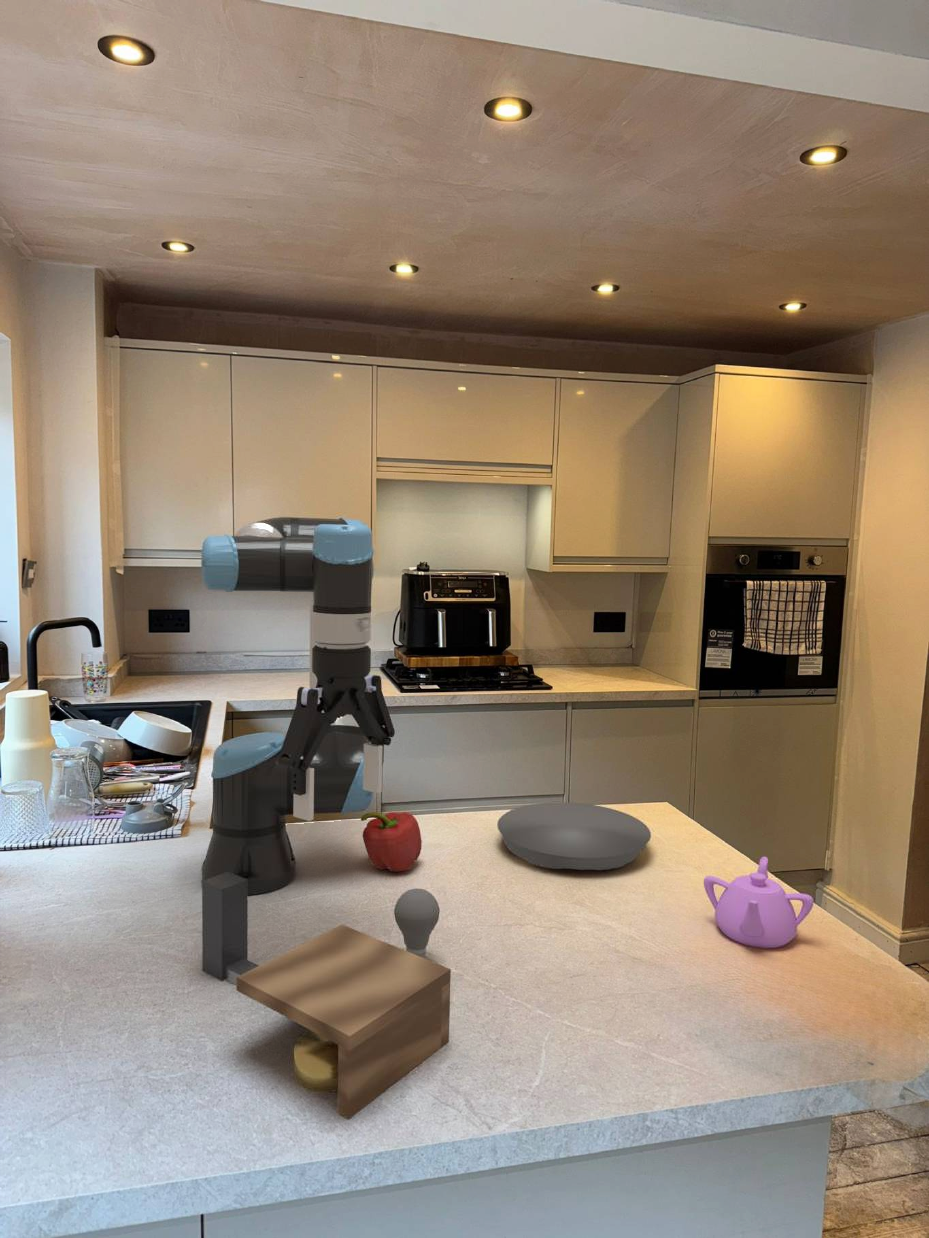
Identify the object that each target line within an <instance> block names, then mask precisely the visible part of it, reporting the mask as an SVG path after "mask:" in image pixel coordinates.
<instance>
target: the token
mask: <svg viewBox="0 0 929 1238" xmlns="http://www.w3.org/2000/svg"><path fill="white" fill-rule="evenodd" d="M293 1077H294V1080H295V1081H296V1082H297V1084H298V1085H299V1086H300V1087H301V1088H304V1089H305V1090H309V1091H311V1092H317V1093H329V1092H331V1093H332V1092H335V1091H338V1044H336V1043H334V1042H332V1041H330V1040H328V1039H326V1038H324V1037H323V1036H321V1035H319V1034H317V1033H315V1032H313V1031H311V1030H309V1029H308V1030H307V1031H306V1032H304V1033H303V1034H301V1035H300V1036H299V1037H298V1038H297V1039H296V1041H295V1043H294V1046H293Z"/></svg>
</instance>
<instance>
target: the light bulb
mask: <svg viewBox="0 0 929 1238" xmlns="http://www.w3.org/2000/svg"><path fill="white" fill-rule="evenodd" d="M393 912H394V913H393V914H394V920H395V923H396V925H397V926H398V928H399V931H401V933H402V936H403V942H404V945H405V947H406V949H405V951H408V952H410V953H412V954H415V955H417V956H420V957H422V958H425V959H427V954H426V953H427V946H428V944H429V941H430V935H431V934H432V931H434V929H435V927H436V925H437V924H438V921H439V918H440V905H439V902H438V900H437V899H436V897H435V896H434V895H433V894H432V893H431V892H430V891H428V890H427V889H423V888H412V889H408V890H407V891H405V892H404V893H402V894H401V895H400V896H399V898H398V899H397V901H396V903H395V904H394V909H393Z"/></svg>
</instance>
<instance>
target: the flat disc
mask: <svg viewBox="0 0 929 1238" xmlns="http://www.w3.org/2000/svg"><path fill="white" fill-rule="evenodd" d="M496 826H497V829H498V831H499V832H500V834H501V835H502V839H503V842H504V844H505V846H506V847H507V849H508V850H509V851H510V852H511V853H512V854H514V855H515V856H517V857H518V858H520V859H523V860H525V861H526V862H528V863H530V864H532V865H534V866H539V867H543V868H547V869H554V870H555V869H559V870H561V869H571V870H580V871H584V870H591V871H592V870H595V871H603V870H611V869H619V868H621V867H624V866H625V865H626V864H630V863H632V862H633V861H634V860H635V859H636V858H638V856H639V854H640V853H642V852H644V849H645V847H646V845H647V844H648V843H649V842H650V840H651V837H652V835H651V834H652V832H651V830H650V828H649V827H648V826H647V825H646V824H645V823H644V822H643V821H642V820H640V819H638V818H637V817H635V816H633V815H630V814H628V813H625V812H623V811H620V810H617V809H613V808H611V807H606V806H601V805H594V804H590V803H589V804H587V803H579V802H564V801H562V802H561V801H559V802H558V801H557V802H540V803H534V804H533V803H532V804H526V805H523V806H520V807H516V808H514V809H510V810H509V811H507V812H506V813H504V814H502V815H501V816H500V818H499V819H498V821H497V825H496Z"/></svg>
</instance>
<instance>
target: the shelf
mask: <svg viewBox="0 0 929 1238" xmlns="http://www.w3.org/2000/svg"><path fill="white" fill-rule="evenodd" d="M451 971H452V969H451V968H449V967H446V966H443V965H441V964H439V963H436V962H434V961H431V960H429V959H427V958H426V959H425V958H422V957H420V956H417V955H415V954H412V953H410V952H408V951H406V949H402V948H401V947H398V946H395V945H393V944H391V943H387V942H386V941H383V940H382V939H381V940H380V939H378V938H376V937H373V936H371V935H369V934H366V933H364V932H361V931H359V930H357V929H354V928H352V927H349V926H347V925H345V924H339V925H337V926H336V927H335V926H334V928H332V929H330V930H328V931H325V932H324V933H322V934H319V935H317V936H316V937H314V938H312V939H309V940H308V941H306V942H304V943H302V944H300V945H298V946H296V947H293V948H292V949H289V950H287V951H286V952H284V953H282V954H280V955H277V956H276V957H274V958H272V959H270V960H268V961H266V962H264V963H261V964H260V965H259V966H258V967H256V968H254V969H252V970H250V971H248V972H246V973H244V974H242V975H240V976H238V977H236V985H235V986H236V990H235V991H236V992H238V993H240V994H242V995H245V996H246V997H247V998H250V999H252V1000H254V1001H255V1002H257V1003H259V1004H261V1005H263V1006H265V1007H267V1008H269V1009H270V1010H273V1012H274V1011H275V1012H276V1013H278V1014H279V1015H281V1016H283V1017H285V1018H287V1019H289V1020H291V1021H292V1022H294V1023H296V1024H298V1025H300V1026H303V1027H304V1028H306V1029H308V1031H309V1030H311V1031H313V1032H315V1033H317V1034H319V1035H321V1036H323V1037H324V1038H326V1039H328V1040H330V1041H332V1042H334V1043H336V1044H338V1090H337V1113H338V1114H340V1115H341V1116H343V1117H345V1118H346V1119H348V1120H349V1119H351V1118H352V1117H353V1116H355V1115H356V1114H357V1113H359V1112H360V1111H361V1110H362V1109H364V1108H365V1107H366V1106H368V1105H369V1104H370V1103H371V1102H373V1101H374V1100H375V1099H376V1098H378V1097H379V1096H380V1095H382V1094H383V1093H385V1092H386V1091H387V1090H388V1089H390V1088H391V1087H392V1086H394V1085H395V1084H396V1083H397V1082H399V1081H400V1080H401V1079H402V1078H403V1077H406V1075H407V1074H409V1073H410V1072H411V1071H413V1070H414V1069H416V1067H418V1066H419V1065H420V1064H422V1063H423V1062H424V1061H426V1060H427V1059H428V1058H429V1057H431V1056H432V1055H433V1054H435V1053H436V1052H437V1051H439V1050H440V1049H441V1048H442V1047H444V1046H445V1045H446V1044H447V1043H449V1041H450V1009H451V982H452V981H451V978H452V977H451V975H452V973H451Z"/></svg>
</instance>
